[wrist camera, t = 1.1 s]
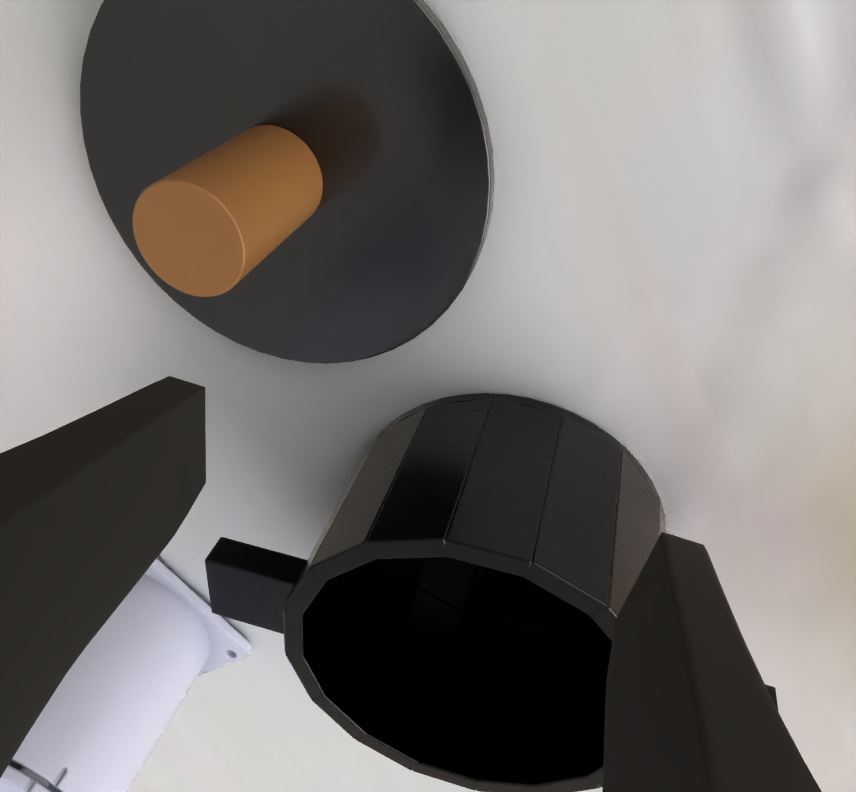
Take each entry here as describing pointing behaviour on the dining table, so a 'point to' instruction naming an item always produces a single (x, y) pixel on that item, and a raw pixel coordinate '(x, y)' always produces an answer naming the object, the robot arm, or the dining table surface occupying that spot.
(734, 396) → the dining table surface
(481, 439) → the pot
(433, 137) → the lid
